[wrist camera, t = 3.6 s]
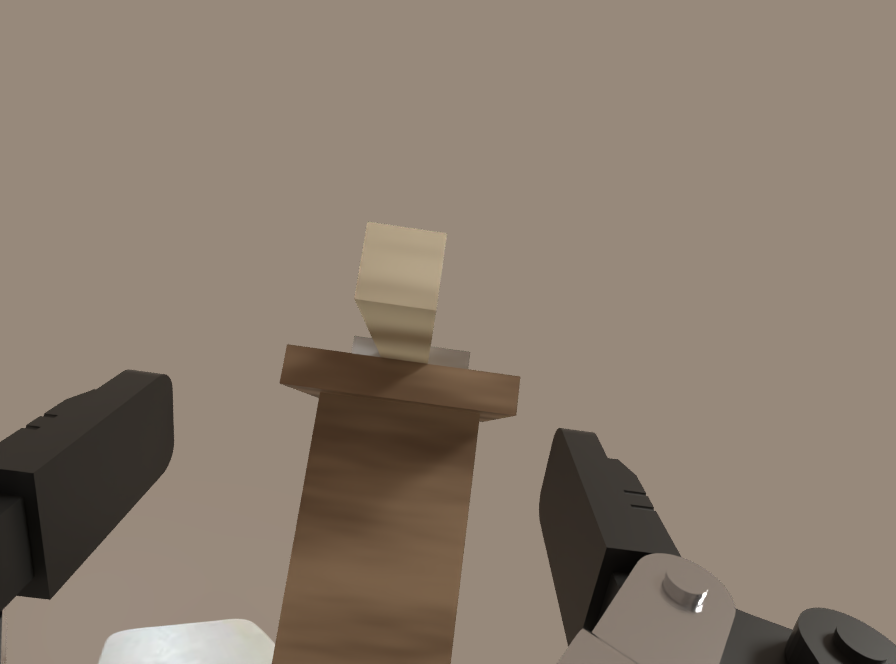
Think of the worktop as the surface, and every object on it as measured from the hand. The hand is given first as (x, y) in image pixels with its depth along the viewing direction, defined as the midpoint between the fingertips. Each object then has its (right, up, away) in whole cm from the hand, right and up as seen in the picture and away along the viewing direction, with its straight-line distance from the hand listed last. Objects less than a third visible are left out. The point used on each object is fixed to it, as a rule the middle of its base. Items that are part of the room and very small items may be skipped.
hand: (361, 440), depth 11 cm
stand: (-5, -32, +17) cm, 36 cm away
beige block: (0, +1, +16) cm, 16 cm away
